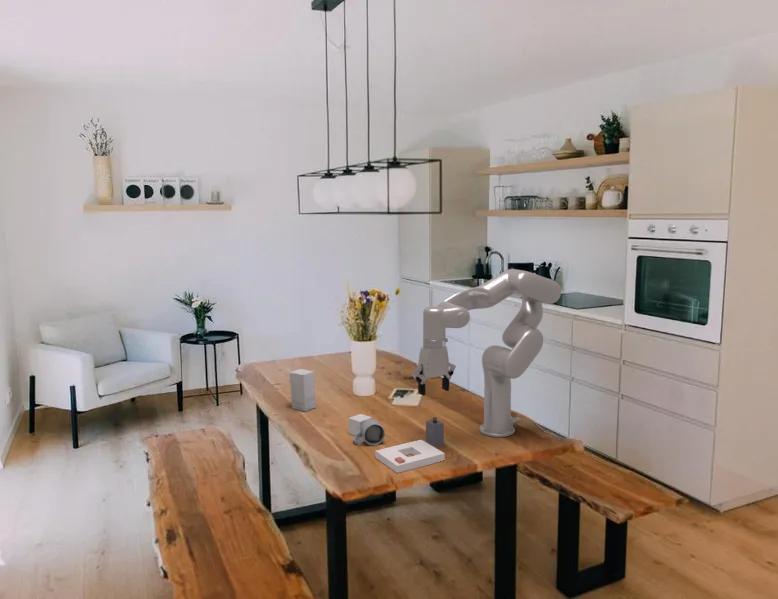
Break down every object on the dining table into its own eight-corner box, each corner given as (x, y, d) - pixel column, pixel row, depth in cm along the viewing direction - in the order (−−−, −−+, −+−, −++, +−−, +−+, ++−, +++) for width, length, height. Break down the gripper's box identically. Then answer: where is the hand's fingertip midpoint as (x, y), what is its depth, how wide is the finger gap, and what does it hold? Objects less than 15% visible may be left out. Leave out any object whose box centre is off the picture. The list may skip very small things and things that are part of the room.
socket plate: (421, 446, 219) (421, 437, 218) (444, 460, 207) (444, 451, 206) (375, 457, 210) (375, 448, 209) (397, 473, 198) (397, 463, 197)
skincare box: (316, 408, 260) (315, 371, 257) (304, 412, 255) (303, 374, 252) (302, 404, 265) (301, 367, 262) (290, 408, 260) (289, 371, 257)
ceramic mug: (380, 435, 229) (379, 415, 228) (385, 444, 221) (384, 423, 220) (351, 439, 226) (350, 418, 225) (355, 448, 218) (354, 426, 217)
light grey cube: (372, 433, 232) (372, 417, 231) (360, 437, 227) (359, 421, 226) (361, 429, 236) (360, 413, 235) (349, 433, 232) (348, 417, 231)
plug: (435, 440, 223) (435, 414, 222) (443, 445, 219) (443, 418, 218) (426, 443, 222) (425, 416, 220) (434, 447, 217) (434, 421, 216)
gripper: (448, 338, 222) (448, 385, 225) (406, 344, 213) (406, 393, 216) (461, 342, 216) (460, 391, 218) (418, 348, 207) (418, 399, 210)
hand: (433, 392), depth 217 cm, fingers open, 9 cm apart
